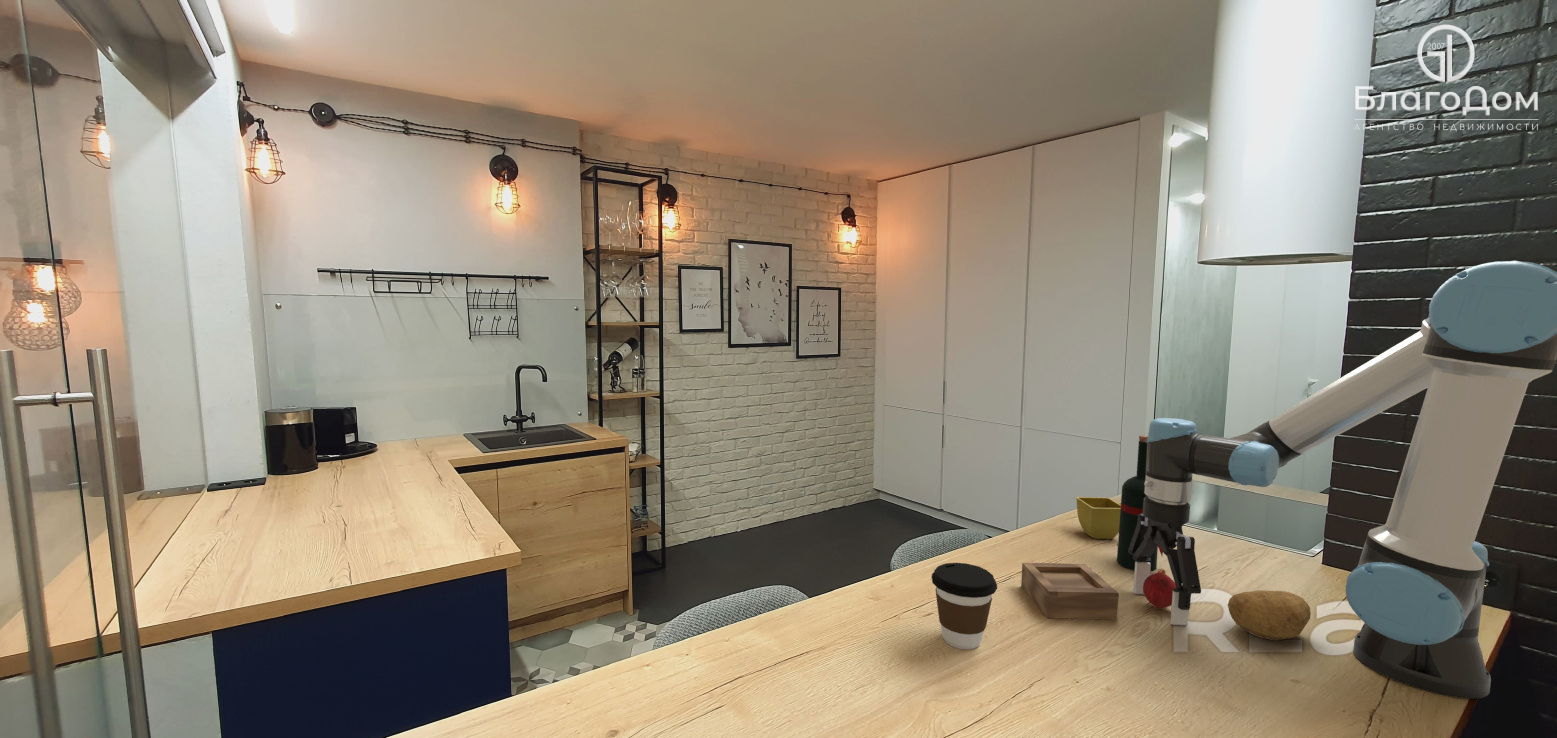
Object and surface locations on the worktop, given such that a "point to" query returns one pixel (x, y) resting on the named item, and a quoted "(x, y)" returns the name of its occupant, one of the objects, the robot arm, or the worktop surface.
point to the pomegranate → (1159, 589)
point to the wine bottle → (1133, 510)
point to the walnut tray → (1069, 591)
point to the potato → (1270, 613)
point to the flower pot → (1099, 516)
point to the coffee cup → (963, 602)
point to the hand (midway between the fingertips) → (1159, 607)
